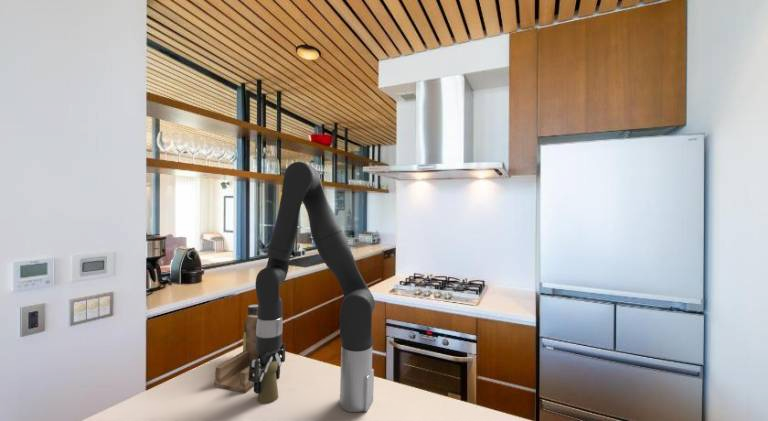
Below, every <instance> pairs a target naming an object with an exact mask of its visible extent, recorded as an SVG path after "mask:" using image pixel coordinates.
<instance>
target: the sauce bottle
mask: <svg viewBox="0 0 768 421" xmlns="http://www.w3.org/2000/svg"><path fill="white" fill-rule="evenodd" d="M248 315H256V316H258V304H250V305H248V306H247V316H248ZM242 340H243V342H242V352H243V351H245V350H246V321H245V323H244V325H243V339H242Z"/></svg>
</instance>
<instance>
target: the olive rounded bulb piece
mask: <svg viewBox="0 0 768 421" xmlns="http://www.w3.org/2000/svg"><path fill="white" fill-rule="evenodd" d="M277 368H278V364H277V362H276V361H275V360H274V361H272V362H271V363H270V365H269V367H268V370H267V372H266V373H265V374H264V376H263V379H262V392H261V393H260V394H257V399H256V401H257V403H259V404H263V405H267V404H271V403H272V404H273V403H274V402H275V401H277V400H278V398H279V390H278V382H277V381H278V380H277V379H276V371H277ZM260 369H264V367H261V366H260ZM260 373H261V372H260Z"/></svg>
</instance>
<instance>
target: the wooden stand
mask: <svg viewBox="0 0 768 421" xmlns="http://www.w3.org/2000/svg"><path fill="white" fill-rule="evenodd" d="M257 319H258V316H256V315H248V314H247V315H246V320H245V322H246V350H245V351H243V350H242V351H241V352H239V353H238V354H236V355H234V356H232V357H230V358H229V359H227V360H225V361H224V362H222V363H221V364H219V365H217V366H215V368H214V369H215V372H214V373H215V376H214V377H215V378H214V384H213V385H214V386H213V387H217V388H222V389H227V390H230V391H234V392H235V391H236V392H240V393H243V394H247V392H249V391H250V390H251V389H254V382H252V381H249V380H248V377H249V365H250V360H251V359H254V360H255V359H257V357H258V351H257V349H256V325H257ZM259 368H260V367H259ZM260 374H261V373H260V372H259V376H260ZM253 376H254V373H253Z"/></svg>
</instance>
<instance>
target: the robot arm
mask: <svg viewBox="0 0 768 421" xmlns="http://www.w3.org/2000/svg"><path fill="white" fill-rule="evenodd" d="M280 195H281V196H280V202H279V206H278V211H277V216H276V220H275V223H274V224H275V225H274V227H273V230H272V234H271V237H270V240H269V243H268V247H267V251H266V252H267V257H268V259H267V263H266V266H265V267H264V268H262V269H261V270H259V272H258V273H257V275H256V276H255V277H256V278H255V294H256V299H257V303H258V304H257V305H258V319H257V325H256V349H257V351H258V357H257V359H255V360H254V359H251V360H250V365H249V377H248V380H249V381H252V382H254V387H253V393H254V394H256V395H258V394H260V393H261V392H262V379H263V376H264V374H265V373H266V372H267V370H268V367H269V365H270V363H271V362H272V361H274V360H275V361H276V362H277V364H278V368H277V371H276V379H277V381H278V380H280V376H281V375H280V374H281V367H282V365H283V364H282V363H285V361H286V343H284V342H283V326H284V325H283V324H284V323H283V322H284V320H283V299H282V297H281V296H280V286H282V285H283V284H284V283H285V281H286V279H287V276H288V272H289V266H290V260H291V259H290V258H291V256H292V253H293V249H294V246H295V242H296V240H297V234H298V230H299V229H298V226H299V217H300V216H299V215H300V210H301V206H302V204H303V205H304V208H305V210H306V213H307V216H308V222H309V228H310V234H311V237H312V240H313V242H314V245H315V248H316V249H317V252H318V255H319V257H320V258H321V260H322V261H323V263H324V264H325V265H326V267H327V268H328V269H329V270H330V271H331V273H332V274H333V275H334V277H335V278H336V280H337V281H338V284H339V287H340V290H341V292H342V295H343V297H344V298H343V300H342V302H341V304H340V310H339V336H340V337H339V338H340V341H341V344H340V345H341V347H340V350H341V351H340V380H339V382H340V383H339V388H340V390H339V392H340V393H339V406H340V408H341V409H343V410H344V411H345V412H349V413H359V412H368V410H369V409H370V407H371V405H372V403H373V401H374V386H375V385H374V382H375V377H374V376H375V369H374V368H373V341H374V340H373V334H372V329H373V328H372V326H373V325H372V320H373V318H372V316H373V312H374V310H375V304H376V302H375V298H374V296H373V294H372V292H371V290H370V289H369V287H368V285H367V283H366V281H365V280H364V278H363V277H362V276H363V275H362V274H361V273H360V272H361V271H360V270H359V269H358V265H357V263H356V260H355V258H354V255H353V254H354V253H353V252H352V250H351V247H350V245H349V243H348V240H347V238H346V235H345V232H344V231H343V229H342V227H341V225H340V222H339V221H338V218H337V216H336V214H335V213H334V211H333V209H332V207H331V205H330V204H329V201H328V198H327V196H326V193H325V189H324V185H323V184H322V180H321V177H320V174H319V172H318V171H317V169H315V168H314V167H313V166H312V165H310V164H307V162H304V161H294V162H292V163H290V164H289V165H288V166H287V167H286V168H285V171H284V174H283V179H282V188H281V194H280ZM260 366H261V367H264V369H260V368H259V367H260ZM259 372H261V374H260V376H259ZM253 373H254V376H253Z"/></svg>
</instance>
